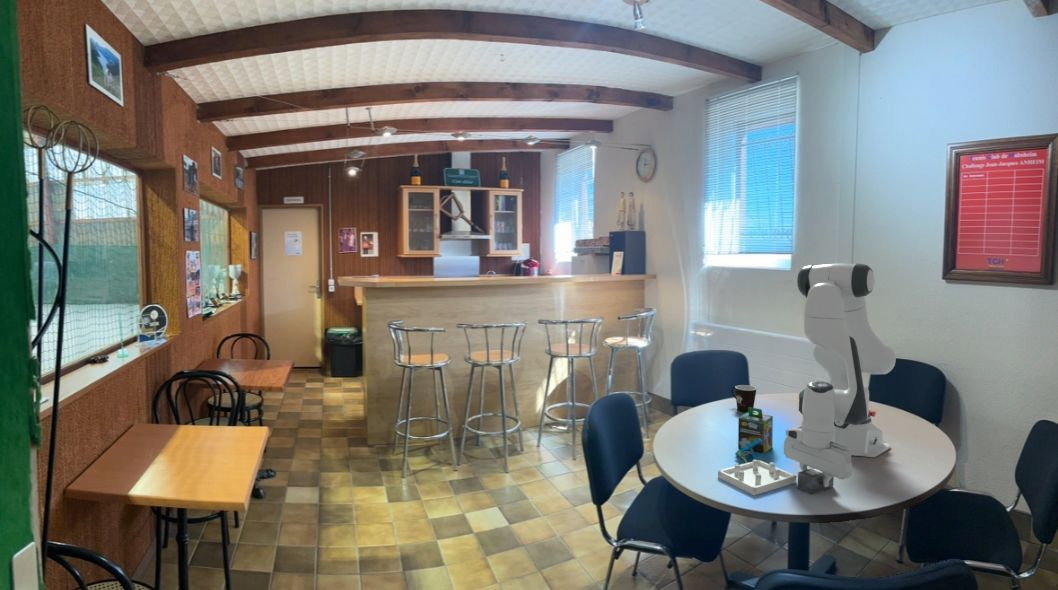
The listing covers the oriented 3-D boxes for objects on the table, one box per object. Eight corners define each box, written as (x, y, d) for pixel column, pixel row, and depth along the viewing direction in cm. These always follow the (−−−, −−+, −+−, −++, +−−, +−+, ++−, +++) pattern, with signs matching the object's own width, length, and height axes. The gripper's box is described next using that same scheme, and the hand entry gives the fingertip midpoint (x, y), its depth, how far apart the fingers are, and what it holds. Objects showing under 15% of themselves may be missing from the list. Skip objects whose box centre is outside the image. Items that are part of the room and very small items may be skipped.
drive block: (819, 481, 173) (820, 465, 172) (833, 487, 169) (833, 470, 168) (797, 488, 168) (798, 471, 168) (810, 494, 164) (811, 477, 164)
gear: (747, 446, 198) (764, 433, 190) (758, 461, 195) (775, 448, 188) (726, 457, 192) (742, 444, 185) (737, 472, 189) (754, 460, 182)
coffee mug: (759, 413, 239) (759, 390, 238) (738, 413, 239) (739, 390, 238) (748, 405, 251) (749, 383, 250) (729, 405, 251) (729, 383, 250)
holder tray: (758, 466, 184) (759, 454, 184) (796, 482, 172) (796, 470, 172) (717, 477, 176) (718, 465, 176) (754, 495, 164) (754, 482, 164)
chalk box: (772, 447, 201) (774, 407, 199) (763, 455, 194) (765, 413, 193) (746, 441, 207) (748, 402, 205) (737, 448, 200) (738, 407, 199)
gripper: (858, 446, 159) (855, 493, 161) (795, 425, 177) (793, 468, 179) (844, 450, 156) (841, 498, 158) (781, 428, 174) (779, 471, 176)
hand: (815, 482), depth 168 cm, fingers closed on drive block, 4 cm apart
